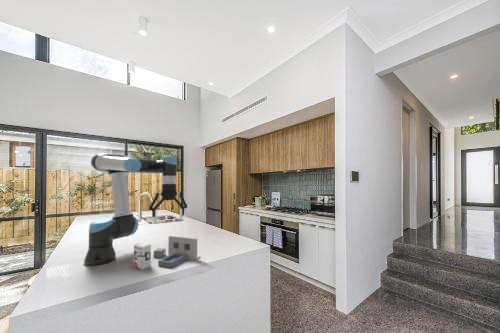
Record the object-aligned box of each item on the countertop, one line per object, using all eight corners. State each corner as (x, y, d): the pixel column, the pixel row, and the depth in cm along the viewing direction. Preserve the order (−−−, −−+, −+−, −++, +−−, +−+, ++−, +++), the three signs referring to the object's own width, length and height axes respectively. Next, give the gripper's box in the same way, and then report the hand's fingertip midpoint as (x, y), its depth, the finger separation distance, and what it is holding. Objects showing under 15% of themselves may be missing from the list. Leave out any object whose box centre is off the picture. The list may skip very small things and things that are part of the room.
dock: (158, 265, 119) (158, 260, 119) (174, 258, 131) (174, 253, 131) (170, 268, 116) (170, 262, 116) (186, 259, 127) (186, 254, 128)
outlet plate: (167, 256, 133) (167, 236, 134) (173, 253, 138) (173, 234, 139) (195, 260, 126) (195, 239, 127) (200, 257, 131) (200, 237, 132)
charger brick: (153, 257, 132) (153, 250, 132) (157, 254, 137) (158, 248, 137) (162, 258, 131) (162, 251, 132) (166, 255, 136) (166, 248, 136)
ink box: (132, 266, 118) (133, 244, 119) (141, 263, 122) (141, 242, 123) (142, 269, 114) (143, 246, 115) (151, 266, 118) (151, 244, 119)
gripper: (145, 183, 114) (144, 225, 113) (193, 183, 126) (192, 220, 125) (144, 183, 120) (143, 222, 119) (189, 183, 133) (189, 218, 132)
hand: (168, 221), depth 122 cm, fingers open, 13 cm apart
